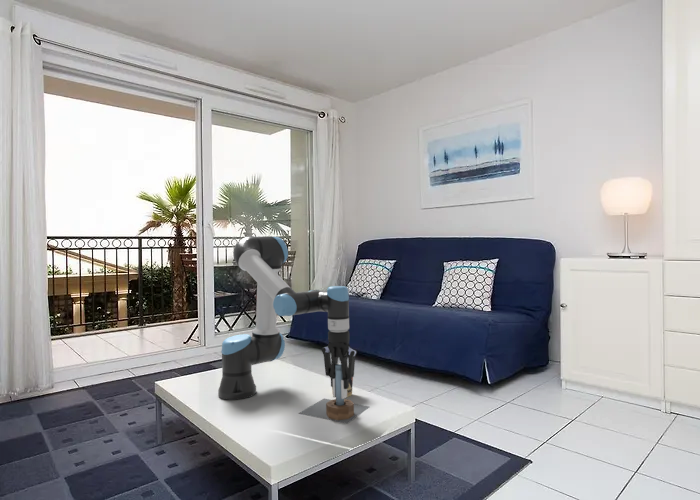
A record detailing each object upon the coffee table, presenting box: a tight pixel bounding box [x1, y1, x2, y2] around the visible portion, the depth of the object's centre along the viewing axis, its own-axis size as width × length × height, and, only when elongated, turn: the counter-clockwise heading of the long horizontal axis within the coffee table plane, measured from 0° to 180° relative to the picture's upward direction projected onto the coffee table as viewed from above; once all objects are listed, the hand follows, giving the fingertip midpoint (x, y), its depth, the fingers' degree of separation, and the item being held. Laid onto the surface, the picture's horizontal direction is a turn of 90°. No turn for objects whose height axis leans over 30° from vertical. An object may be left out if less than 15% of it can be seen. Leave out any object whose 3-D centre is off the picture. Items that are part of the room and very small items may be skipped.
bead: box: [326, 398, 355, 420], centre depth 154 cm, size 9×9×4 cm
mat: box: [298, 398, 370, 424], centre depth 159 cm, size 20×17×1 cm
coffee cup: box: [331, 362, 354, 398], centre depth 176 cm, size 9×9×12 cm
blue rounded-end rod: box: [335, 364, 345, 406], centre depth 154 cm, size 3×3×16 cm
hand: (340, 396), depth 154 cm, fingers closed on blue rounded-end rod, 3 cm apart
